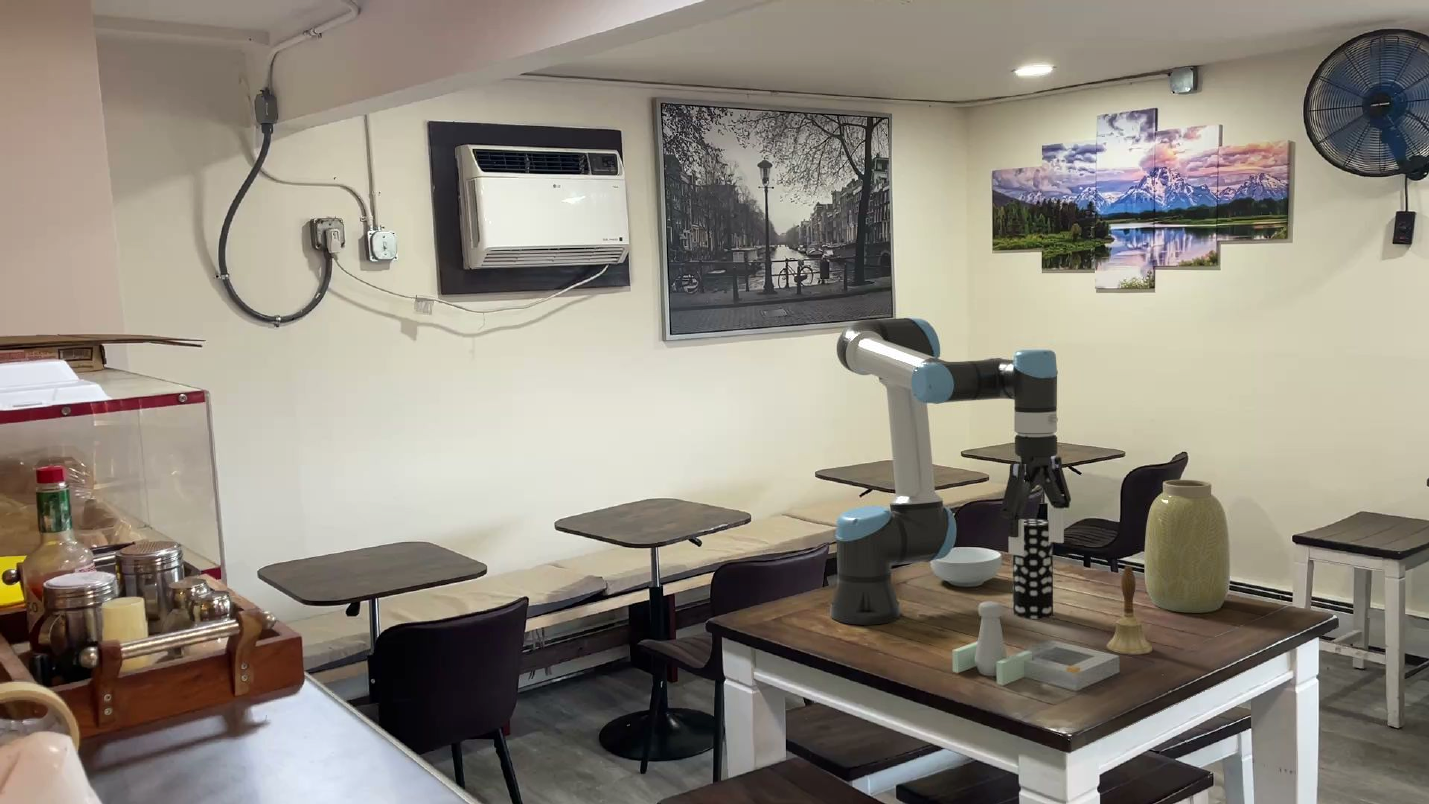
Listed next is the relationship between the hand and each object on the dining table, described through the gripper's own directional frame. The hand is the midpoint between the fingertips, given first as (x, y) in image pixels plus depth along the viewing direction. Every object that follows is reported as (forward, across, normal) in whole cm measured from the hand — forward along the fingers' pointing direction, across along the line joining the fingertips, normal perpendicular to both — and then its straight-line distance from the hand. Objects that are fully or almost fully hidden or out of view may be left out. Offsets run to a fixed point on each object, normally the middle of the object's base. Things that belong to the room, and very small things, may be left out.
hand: (1036, 548), depth 207 cm
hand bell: (+22, +20, -8) cm, 31 cm away
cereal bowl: (+22, +42, +45) cm, 65 cm away
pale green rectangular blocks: (+22, -10, +3) cm, 24 cm away
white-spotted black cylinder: (+22, +29, +19) cm, 41 cm away
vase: (+22, +56, -3) cm, 60 cm away
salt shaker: (+22, -10, +3) cm, 24 cm away
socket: (+22, -1, -6) cm, 23 cm away
